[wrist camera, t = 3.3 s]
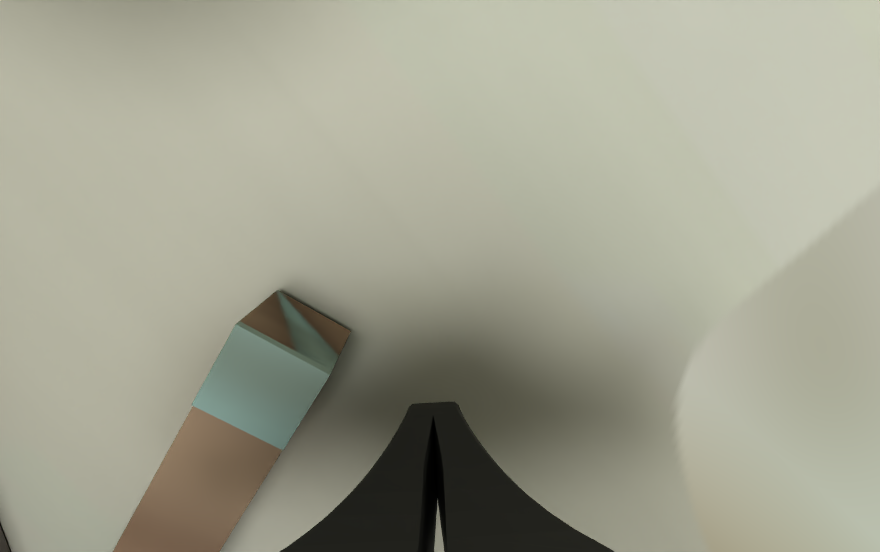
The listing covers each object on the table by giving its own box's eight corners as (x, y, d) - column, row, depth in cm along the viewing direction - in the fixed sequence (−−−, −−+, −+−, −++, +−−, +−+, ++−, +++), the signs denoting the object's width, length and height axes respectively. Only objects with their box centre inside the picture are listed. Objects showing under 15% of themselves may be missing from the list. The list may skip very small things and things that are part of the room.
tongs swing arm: (152, 655, 16) (96, 754, 13) (83, 628, 15) (12, 725, 12) (353, 332, 12) (333, 377, 10) (274, 288, 12) (231, 322, 9)
